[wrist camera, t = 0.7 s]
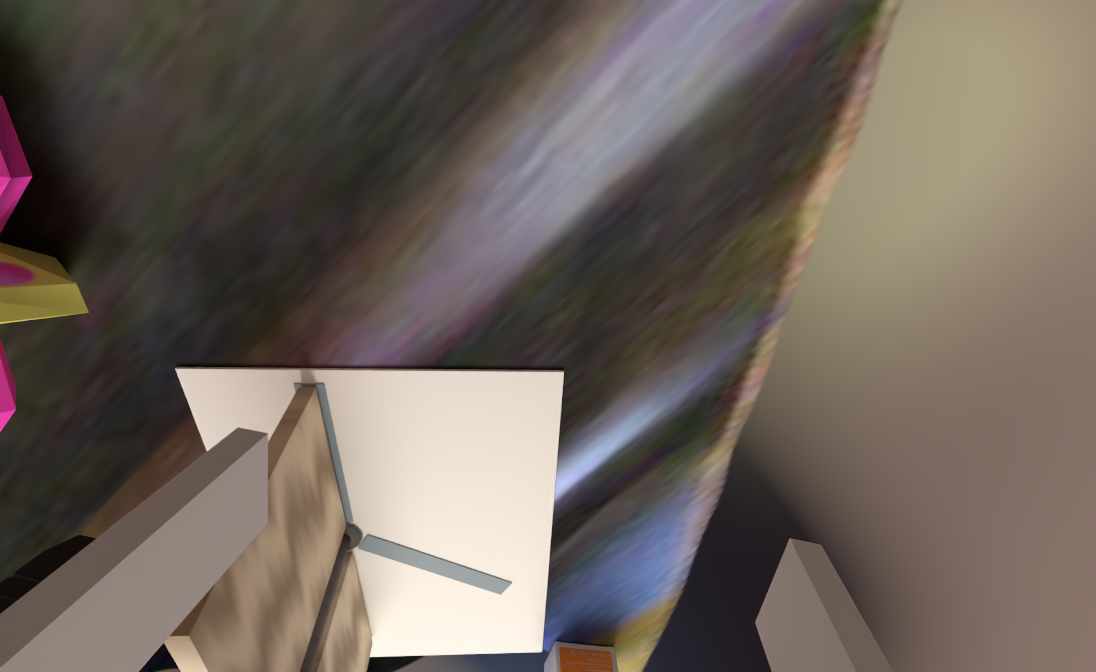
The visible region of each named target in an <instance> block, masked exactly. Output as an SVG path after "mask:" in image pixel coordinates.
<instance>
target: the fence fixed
mask: <svg viewBox="0 0 1096 672" xmlns="http://www.w3.org/2000/svg"><path fill="white" fill-rule="evenodd" d="M361 538H362V536H361V533H360V531H359V530H358V529H357V528H355V527H353V526H351V525H348V524H346V521H345V517H344V512H343V508H342V503H341V499H340V494H339V490H338V485H337V481H336V476H335V472H334V467H333V463H332V458H331V454H330V449H329V445H328V440H327V436H326V431H325V427H324V422H323V418H322V413H321V409H320V404H319V400H318V395H317V391H316V387H299V388H298V389H297V391H296V393H295V395H294V397H293V398H292V400H291V402H290V404H289V406H288V407H287V409H286V411H285V413H284V415H283V416H282V418H281V420H280V422H279V424H278V425H277V427H276V429H275V431H274V433H273V434H272V436H271V438H270V440H269V442H268V523H267V524H266V526H265V527H264V528H263V529H262V530H261V531H260V532H259V534H258V535H257V536H256V537H255V538H254V539H253V540H252V542H251V543H250V544H249V545H248V546H247V547H246V549H245V550H244V551H243V552H242V553H241V554H240V555H239V557H238V558H237V559H236V560H235V561H234V562H233V563H232V565H231V566H230V567H229V568H228V569H227V570H226V572H225V573H224V574H223V575H222V576H221V577H220V578H219V580H218V581H217V582H216V583H215V584H214V585H213V586H212V588H211V589H210V590H209V591H208V592H207V593H206V595H205V596H204V597H203V598H202V599H201V600H200V601H199V603H198V604H197V605H196V606H195V607H194V608H193V609H192V611H191V612H190V613H189V614H188V615H187V616H186V618H185V619H184V620H183V621H182V622H181V623H180V624H179V626H178V627H177V628H176V629H175V630H174V631H173V632H172V634H171V635H170V636H169V637H168V638H167V639H166V641H165V642H164V644H165V645H166V647H167V649H168V650H169V652H170V654H171V655H172V657H173V659H174V660H175V662H176V664H177V666H178V667H179V669H180V671H181V672H311V670H312V667H313V664H314V660H315V657H316V654H317V651H318V647H319V644H320V641H321V637H322V634H323V631H324V627H325V624H326V621H327V617H328V614H329V611H330V607H331V604H332V601H333V598H334V594H335V591H336V588H337V584H338V581H339V578H340V574H341V571H342V568H343V564H344V561H345V558H346V554H347V551H348V550H350V549H354V548H356V547H357V546H358V545H359V544H360V542H361Z"/></svg>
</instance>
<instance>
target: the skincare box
mask: <svg viewBox="0 0 1096 672" xmlns="http://www.w3.org/2000/svg"><path fill="white" fill-rule="evenodd" d="M544 672H618V667H617V660H616V653H615V648H614V647H602V646H593V645H582V644H573V643H564V642H559V641H555V642H554V644H553V647H552V649H551V651H550V653H549V655H548V658H547V660H546V662H545V664H544Z"/></svg>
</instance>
